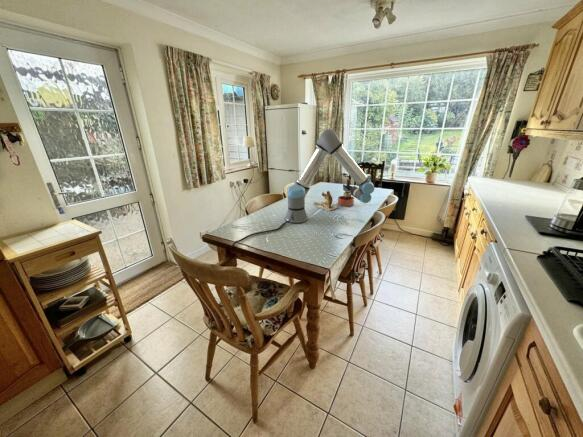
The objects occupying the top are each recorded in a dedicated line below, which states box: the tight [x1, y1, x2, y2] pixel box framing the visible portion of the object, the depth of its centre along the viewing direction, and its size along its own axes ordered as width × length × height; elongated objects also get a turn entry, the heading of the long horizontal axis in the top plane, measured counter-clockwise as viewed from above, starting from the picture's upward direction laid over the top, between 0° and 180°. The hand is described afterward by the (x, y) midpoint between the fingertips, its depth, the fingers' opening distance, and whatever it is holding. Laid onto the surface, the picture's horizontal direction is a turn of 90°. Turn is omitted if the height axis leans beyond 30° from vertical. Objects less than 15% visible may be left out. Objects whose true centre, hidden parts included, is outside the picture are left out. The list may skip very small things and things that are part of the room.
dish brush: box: [342, 178, 352, 200], centre depth 192 cm, size 6×4×16 cm
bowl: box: [337, 195, 355, 207], centre depth 196 cm, size 13×13×6 cm
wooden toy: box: [313, 190, 339, 212], centre depth 190 cm, size 22×10×14 cm, turn 37°
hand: (345, 185), depth 197 cm, fingers closed on dish brush, 3 cm apart
